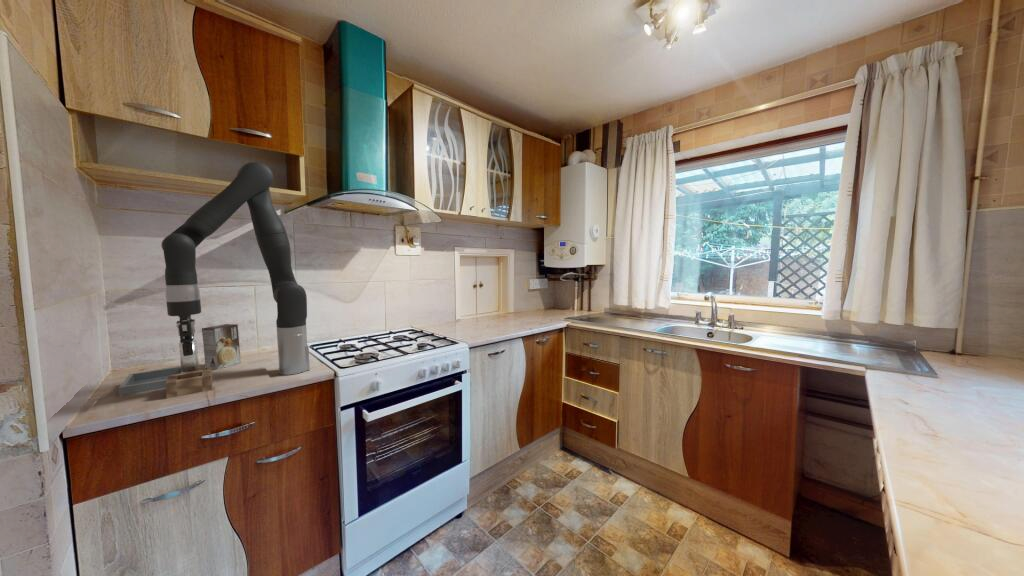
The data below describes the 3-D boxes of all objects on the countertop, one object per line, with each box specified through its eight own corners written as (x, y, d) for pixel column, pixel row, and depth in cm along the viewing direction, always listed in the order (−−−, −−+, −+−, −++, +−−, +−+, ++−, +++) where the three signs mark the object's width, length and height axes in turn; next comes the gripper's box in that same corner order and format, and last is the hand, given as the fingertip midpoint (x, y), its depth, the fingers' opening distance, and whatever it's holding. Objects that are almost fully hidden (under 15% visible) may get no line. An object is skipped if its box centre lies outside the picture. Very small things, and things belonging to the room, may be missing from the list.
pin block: (212, 384, 113) (211, 368, 113) (212, 393, 106) (211, 375, 105) (170, 392, 107) (169, 375, 106) (167, 401, 99) (165, 383, 99)
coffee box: (228, 362, 139) (226, 323, 138) (241, 362, 138) (238, 324, 137) (204, 369, 130) (201, 327, 129) (217, 369, 129) (214, 328, 128)
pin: (199, 367, 109) (196, 339, 108) (198, 370, 106) (196, 341, 105) (182, 369, 106) (179, 341, 105) (181, 372, 103) (178, 344, 102)
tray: (187, 374, 123) (187, 365, 123) (184, 387, 111) (183, 377, 110) (130, 384, 114) (129, 374, 114) (119, 399, 101) (118, 387, 101)
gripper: (199, 300, 101) (204, 356, 102) (200, 296, 112) (205, 347, 113) (163, 302, 96) (169, 361, 98) (168, 298, 107) (174, 351, 108)
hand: (188, 353), depth 105 cm, fingers closed on pin, 4 cm apart
